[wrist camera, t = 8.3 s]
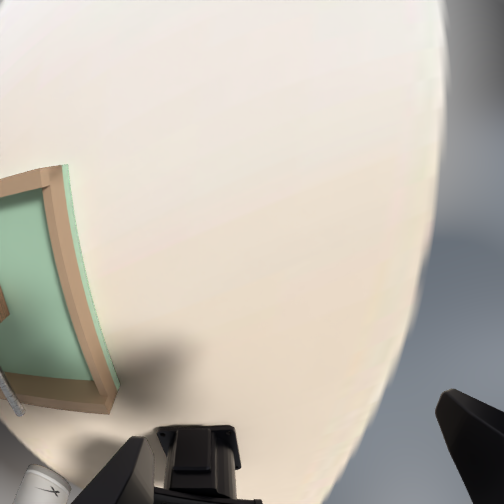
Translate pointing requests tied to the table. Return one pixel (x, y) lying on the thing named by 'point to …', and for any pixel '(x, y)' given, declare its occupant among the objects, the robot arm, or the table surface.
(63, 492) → the travel mug
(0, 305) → the rubber mallet
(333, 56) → the table surface
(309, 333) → the table surface
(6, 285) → the pitch
